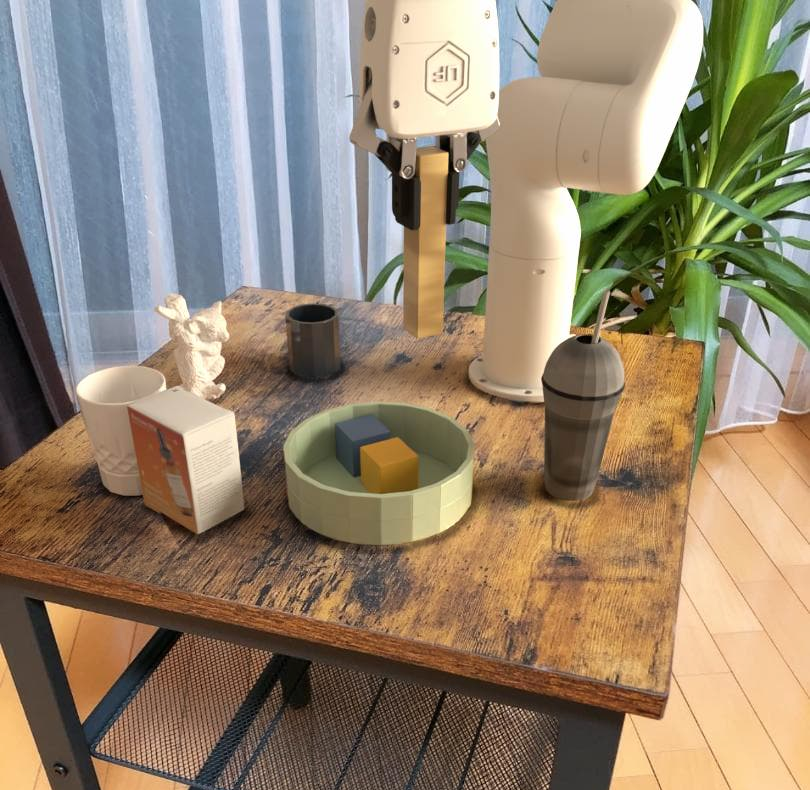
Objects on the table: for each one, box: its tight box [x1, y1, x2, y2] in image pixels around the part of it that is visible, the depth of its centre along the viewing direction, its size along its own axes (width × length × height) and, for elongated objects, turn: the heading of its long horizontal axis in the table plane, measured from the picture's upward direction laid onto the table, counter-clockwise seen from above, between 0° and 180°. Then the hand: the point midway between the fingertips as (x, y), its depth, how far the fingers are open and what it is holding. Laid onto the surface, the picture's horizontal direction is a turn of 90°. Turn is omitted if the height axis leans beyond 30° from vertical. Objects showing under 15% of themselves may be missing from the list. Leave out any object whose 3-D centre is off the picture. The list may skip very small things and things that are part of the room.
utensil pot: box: [285, 303, 342, 378], centre depth 106 cm, size 6×6×7 cm
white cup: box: [74, 365, 167, 497], centre depth 85 cm, size 8×8×10 cm
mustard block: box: [360, 437, 418, 494], centre depth 85 cm, size 4×4×4 cm
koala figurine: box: [154, 292, 230, 400], centre depth 99 cm, size 8×7×12 cm
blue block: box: [335, 414, 390, 477], centre depth 88 cm, size 4×4×4 cm
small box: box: [127, 385, 245, 535], centre depth 81 cm, size 8×6×10 cm
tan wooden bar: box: [402, 145, 448, 339], centre depth 76 cm, size 3×3×15 cm
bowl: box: [282, 400, 476, 546], centre depth 84 cm, size 17×17×6 cm
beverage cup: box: [541, 289, 626, 502], centre depth 80 cm, size 7×7×20 cm
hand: (425, 220), depth 75 cm, fingers closed on tan wooden bar, 2 cm apart
